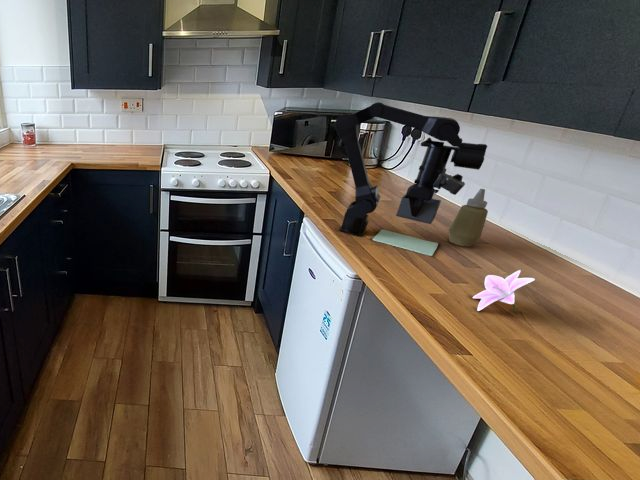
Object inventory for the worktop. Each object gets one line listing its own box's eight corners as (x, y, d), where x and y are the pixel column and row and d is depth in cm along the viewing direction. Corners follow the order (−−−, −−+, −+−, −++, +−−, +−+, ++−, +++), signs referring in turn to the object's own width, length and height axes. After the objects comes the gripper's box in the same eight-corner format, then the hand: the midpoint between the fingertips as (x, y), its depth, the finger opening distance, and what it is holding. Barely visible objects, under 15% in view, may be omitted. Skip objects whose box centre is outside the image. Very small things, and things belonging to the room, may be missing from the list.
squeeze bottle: (465, 239, 131) (487, 186, 124) (482, 249, 124) (507, 194, 117) (439, 237, 132) (459, 184, 125) (455, 247, 125) (477, 192, 117)
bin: (395, 216, 123) (402, 197, 121) (400, 211, 128) (406, 193, 125) (430, 224, 118) (437, 205, 115) (434, 219, 122) (441, 200, 120)
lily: (482, 294, 101) (473, 262, 98) (548, 298, 91) (540, 263, 88) (467, 324, 95) (458, 291, 92) (537, 332, 85) (528, 295, 83)
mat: (372, 240, 128) (372, 238, 128) (381, 230, 136) (382, 229, 136) (432, 256, 118) (432, 255, 118) (438, 244, 126) (438, 243, 126)
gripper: (464, 174, 105) (443, 229, 111) (472, 164, 117) (452, 214, 124) (415, 166, 111) (397, 218, 118) (427, 157, 124) (410, 204, 130)
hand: (415, 213), depth 122 cm, fingers closed on bin, 6 cm apart
